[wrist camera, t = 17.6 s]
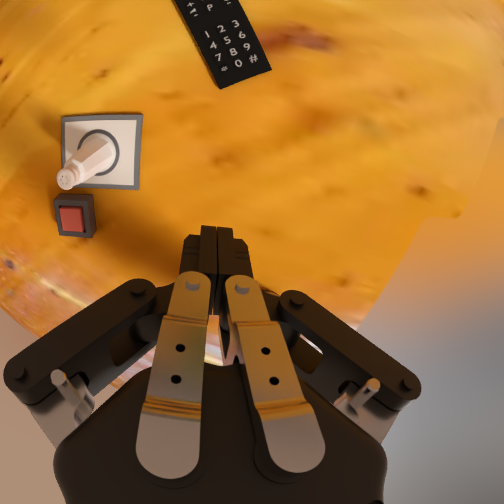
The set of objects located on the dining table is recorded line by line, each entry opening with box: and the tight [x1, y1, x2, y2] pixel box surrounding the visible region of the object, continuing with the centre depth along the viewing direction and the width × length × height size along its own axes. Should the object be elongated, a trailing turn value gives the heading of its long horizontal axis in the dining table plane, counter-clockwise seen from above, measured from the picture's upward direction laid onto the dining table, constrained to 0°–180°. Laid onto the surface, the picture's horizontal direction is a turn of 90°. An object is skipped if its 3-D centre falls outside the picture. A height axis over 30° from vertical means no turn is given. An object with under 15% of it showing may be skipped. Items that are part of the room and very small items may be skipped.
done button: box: [60, 206, 85, 232], centre depth 39 cm, size 4×4×2 cm
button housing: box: [53, 194, 96, 238], centre depth 39 cm, size 7×7×2 cm
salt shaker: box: [57, 138, 113, 190], centre depth 30 cm, size 5×5×11 cm
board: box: [61, 114, 143, 190], centre depth 35 cm, size 12×14×1 cm
